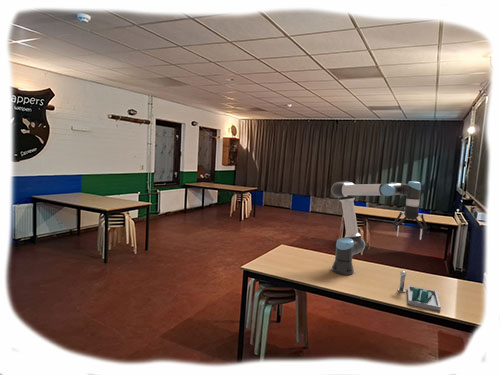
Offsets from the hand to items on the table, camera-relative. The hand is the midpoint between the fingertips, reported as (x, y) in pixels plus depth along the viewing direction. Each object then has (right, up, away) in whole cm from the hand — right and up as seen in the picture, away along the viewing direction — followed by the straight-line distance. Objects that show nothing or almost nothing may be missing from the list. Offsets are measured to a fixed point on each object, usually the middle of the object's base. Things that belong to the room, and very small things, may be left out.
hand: (408, 237), depth 214 cm
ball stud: (-8, -32, -7) cm, 34 cm away
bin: (-1, -34, -19) cm, 39 cm away
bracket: (-1, -34, -19) cm, 39 cm away
